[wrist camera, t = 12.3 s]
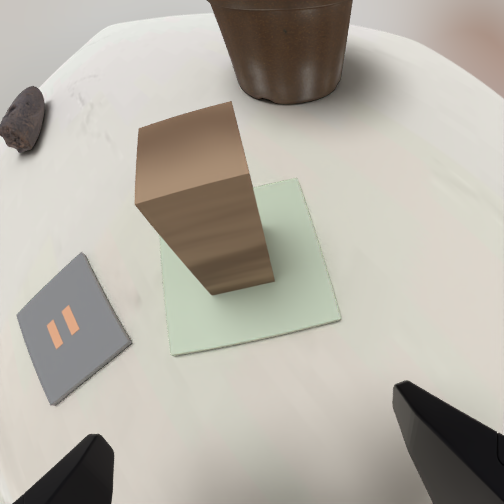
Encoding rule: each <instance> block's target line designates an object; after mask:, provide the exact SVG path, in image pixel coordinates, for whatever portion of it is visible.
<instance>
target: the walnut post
mask: <svg viewBox="0 0 504 504" xmlns="http://www.w3.org/2000/svg"><path fill="white" fill-rule="evenodd" d="M135 205H136V207H137V208H138V209H139V210H140V212H141V213H142V214H143V215H144V217H145V218H146V219H147V220H148V222H149V223H150V224H151V225H152V226H153V228H154V229H155V230H156V231H157V232H158V234H159V235H160V236H161V237H162V238H163V240H164V241H165V242H166V243H167V244H168V246H169V247H170V248H171V249H172V250H173V252H174V253H175V254H176V255H177V256H178V257H179V259H180V260H181V261H182V262H183V263H184V265H185V266H186V267H187V268H188V269H189V270H190V271H191V273H192V274H193V275H194V276H195V277H196V278H197V280H198V281H199V282H200V283H201V284H202V285H203V286H204V288H205V289H206V290H207V291H208V292H209V293H210V294H211V295H217V294H222V293H226V292H231V291H235V290H240V289H244V288H249V287H253V286H258V285H262V284H266V283H271V282H275V279H274V275H273V270H272V266H271V262H270V257H269V253H268V249H267V244H266V240H265V236H264V232H263V227H262V223H261V219H260V215H259V211H258V207H257V202H256V198H255V194H254V190H253V186H252V182H251V178H250V174H249V169H248V165H247V161H246V157H245V153H244V149H243V145H242V141H241V137H240V133H239V129H238V125H237V121H236V117H235V113H234V109H233V105H232V101H230V102H226V103H222V104H218V105H215V106H211V107H207V108H203V109H200V110H196V111H193V112H189V113H186V114H182V115H179V116H176V117H172V118H169V119H166V120H163V121H160V122H157V123H154V124H151V125H148V126H145V127H142V128H139V132H138V145H137V160H136V180H135Z"/></svg>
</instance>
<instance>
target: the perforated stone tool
mask: <svg viewBox="0 0 504 504" xmlns="http://www.w3.org/2000/svg"><path fill="white" fill-rule="evenodd" d="M44 111H45V103H44V98H43V95H42V93H41V91H40V90H39V89H38V88H37V87H34V86H31V87H28V88H26V89H25V90H24V91H22V92H21V93H20V94H19V95H18V96H17V98H16V99H15V100H14V102H13V103H12V105H11V106H10V107H9V109H8V110H7V112H6V115H5V116H4V117H3V119H2V121H1V124H0V136H2V137H3V138H4V140H5V142H6V144H7V146H9V147H13V148H15V149H17V151H18V152H20V153H22V152H24V151H25V152H26V151H27V150H31V149H32V148H33V146H34V144H35V142H36V140H37V138H38V136H39V134H40V130H41V127H42V123H43V118H44Z"/></svg>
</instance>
